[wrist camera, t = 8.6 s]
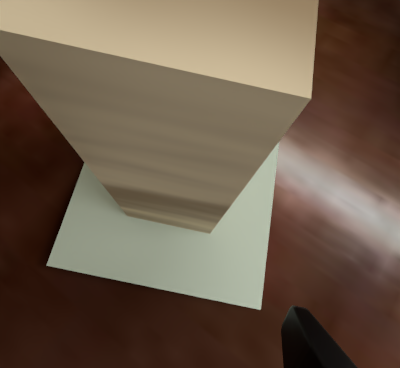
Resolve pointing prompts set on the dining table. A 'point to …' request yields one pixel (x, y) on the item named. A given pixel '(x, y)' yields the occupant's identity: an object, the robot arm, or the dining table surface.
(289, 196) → the dining table surface
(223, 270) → the tile
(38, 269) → the dining table surface
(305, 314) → the robot arm
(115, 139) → the maple block
